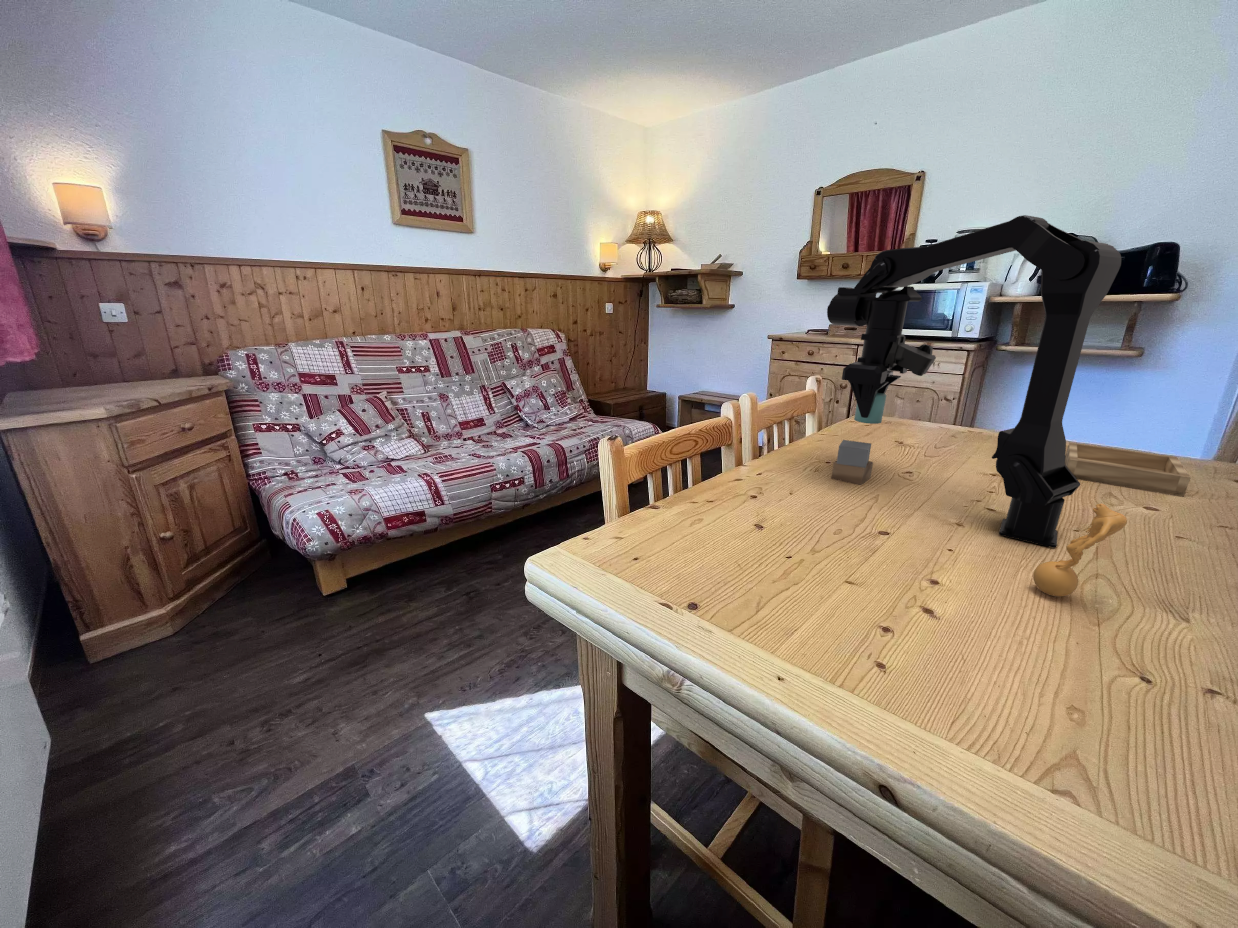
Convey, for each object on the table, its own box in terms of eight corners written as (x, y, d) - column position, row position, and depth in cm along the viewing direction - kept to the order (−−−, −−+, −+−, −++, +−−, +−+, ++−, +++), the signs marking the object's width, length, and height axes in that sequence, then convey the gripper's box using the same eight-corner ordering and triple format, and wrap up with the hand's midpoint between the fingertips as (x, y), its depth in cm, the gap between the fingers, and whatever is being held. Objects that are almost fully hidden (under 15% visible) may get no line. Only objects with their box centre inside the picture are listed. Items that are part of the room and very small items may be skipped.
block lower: (860, 486, 93) (863, 468, 92) (830, 479, 97) (833, 462, 95) (870, 479, 97) (873, 461, 96) (841, 472, 100) (843, 456, 99)
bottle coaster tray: (1183, 496, 88) (1190, 477, 87) (1064, 476, 98) (1069, 459, 96) (1170, 474, 99) (1176, 456, 98) (1064, 458, 109) (1069, 442, 108)
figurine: (1038, 574, 63) (1065, 485, 59) (1102, 595, 58) (1136, 500, 55) (1020, 599, 58) (1048, 502, 54) (1089, 623, 53) (1125, 520, 49)
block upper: (865, 467, 92) (868, 449, 91) (836, 463, 95) (839, 445, 94) (868, 460, 96) (871, 443, 95) (840, 456, 99) (843, 439, 98)
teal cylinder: (877, 425, 90) (882, 397, 88) (850, 420, 93) (855, 394, 91) (884, 420, 93) (889, 394, 92) (858, 416, 96) (863, 390, 94)
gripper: (924, 334, 76) (903, 433, 81) (947, 328, 89) (928, 413, 94) (848, 330, 83) (834, 421, 88) (880, 325, 96) (866, 405, 101)
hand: (868, 415), depth 93 cm, fingers closed on teal cylinder, 5 cm apart
